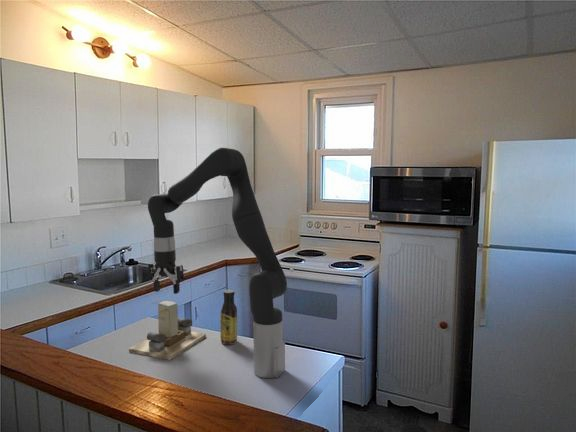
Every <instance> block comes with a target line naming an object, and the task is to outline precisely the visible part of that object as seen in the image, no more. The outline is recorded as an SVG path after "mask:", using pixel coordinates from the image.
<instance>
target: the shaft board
mask: <svg viewBox="0 0 576 432" xmlns="http://www.w3.org/2000/svg"><path fill="white" fill-rule="evenodd" d="M192 325H193V320H192V319H190V318H189V319H188V318H184V317H183V318H182V317H178V335H175V336H173V337H170V338H168V337H166V336H165V334H159V332H152V331H149V332H148V333H147V335H146V338H145V339H143V340H142V341H140V342H138V343H136V344H134V345H133V346H131V347H129V348H128V353H132V354H139V355H143V356H148V357H154V358H157V359H163V360H168V361H171V360H172V359H174V358H176V357H177V356H178V355H180V354H182V353H183V352H185V351H187V350H188V349H189V348H191V347H193V346H194V345H195V343H196V344H198V343H199V342H200V341H202V340H203V338H204V337H205V338H207V334H206V333H203V332H202V333H201V332H196V331H192ZM205 338H204V339H205ZM201 339H202V340H201ZM198 341H199V342H198ZM192 345H193V346H192Z"/></svg>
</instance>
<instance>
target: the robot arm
mask: <svg viewBox="0 0 576 432" xmlns="http://www.w3.org/2000/svg"><path fill="white" fill-rule="evenodd" d="M218 177H227V179H228V182H229V185H230V187H231V191H232V206H231V218H232V222H233V224H234V227H235V230H236V235H237V236H238V237H239V239H240V240H241V241H242V243H243V244H244V245H245V246H246V247H247V248H248V249H249V250H250V251H251V252H252V253H253V255H254V256H255V258H256V260H257V261H258V263H259V266H260V269H261V271H259V272H256V273H254V274H253V275H252V276H251V277H250V280H249V285H248V287H249V288H248V289H249V302H250V303H249V304H250V312H251V314H252V317H253V320H252V321H253V322H252V323H253V325H252V327H253V330H252V331H253V369H254V370H253V373H254V375H256V376H257V377H260V378H263V379H264V378H265V379H272V378H277V379H278V378H279V377H280V376H281V375H282V374H283V373H284V372H285V371H286V343H285V341H283V312H282V310H281V309H279V308H278V307H274V299H276V298H279V297H282V296H283V295H284V294H285V293H286V292H287V288H288V281H287V277H286V274H285V271H284V270H283V268H282V266H281V263H280V261H279V259H278V257H277V255H276V253H275V250H274V247H273V245H272V242H271V239H270V236H269V233H268V231H267V229H266V225H265V223H264V219H263V216H262V213H261V210H260V208H259V205H258V203H257V198H256V196H255V194H254V189H253V188H252V184H251V179H250V176H249V172H248V167H247V162H246V159H245V157H244V156H243V154H242V152H240V151H239V150H238V149H235V148H228V147H218V148H215V149H214V150H213V151H212V152H210V154H209V155H207V156H206V157H205V159H203V160H202V162H200V163H199V164H198V165H197V166H196V167H195V168H193V170H192V171H191V172H189V173H188V174H187V175H185V176H184V177H182V178H181V179H180V180H178V181H177V182H175V183H174V184H172V185H171V186H170V187H169V188H168V190H167V192H166V193H161V194H160V193H159V194H158V193H157V194H152V196H150V197H149V199H148V202H147V210H148V213H149V217H150V220H151V223H152V227H153V258H154V260H153V261H154V262H151V263H149V264H148V266H147V271H148V272H147V273H148V274H147V275H148V277H147V278H148V280H149V281H152V282H153V283H152V284H153V291H154V292H155V293H157V292H160V290H161V287H160V286H161V282H160V279H161V277H166V278H169V280H171V282H172V286H173V287H172V288H173V294H174V295H178V294H179V292H180V291H181V290H180V289H181V288H180V286H181V285H180V283H182V282H184V281H185V274H184V267H183V264H180V265H176V261H177V259H176V258H177V257H176V256H177V255H176V240H175V229H174V228H175V227H174V222H173V221H172V220H170V219H167V217H166V214H169V213H172V212H174V211H176V210H177V209H178V208H179V207H180V206H181V205H182V204H183V203H184V202H186V201H188V200H189V199H191V198H192V197H194V196H195V195H196V194H198V192H199V191H200V190H201V189H202V188H203V186H204V184H206V183H207V182H208V181H210V180H212V179H214V178H218Z"/></svg>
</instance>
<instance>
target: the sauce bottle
mask: <svg viewBox="0 0 576 432" xmlns="http://www.w3.org/2000/svg"><path fill="white" fill-rule="evenodd" d="M219 320H220V323H219V324H220V328H219V329H220V337H219V338H220V342H221V344H224V345H228V346H229V345H234V344H236V343H237V341H238V308H237V306H236V304H235V290H234V289H225V290H223V304H222V307H221V310H220V319H219Z"/></svg>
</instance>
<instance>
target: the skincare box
mask: <svg viewBox="0 0 576 432" xmlns="http://www.w3.org/2000/svg"><path fill="white" fill-rule="evenodd" d="M178 307H179V306H178V302H174V301H170V300H167V299H166V300H163V301H161V302H157V309H158V310H157V311H158V312H157V313H158V318H157V319H158V320H157V321H158V324H157V325H158V333H159V334H165V336H166V337H168V338H170V337H173V336H175V335H178V318H179V317H178V313H179V312H178V310H179V309H178Z"/></svg>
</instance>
